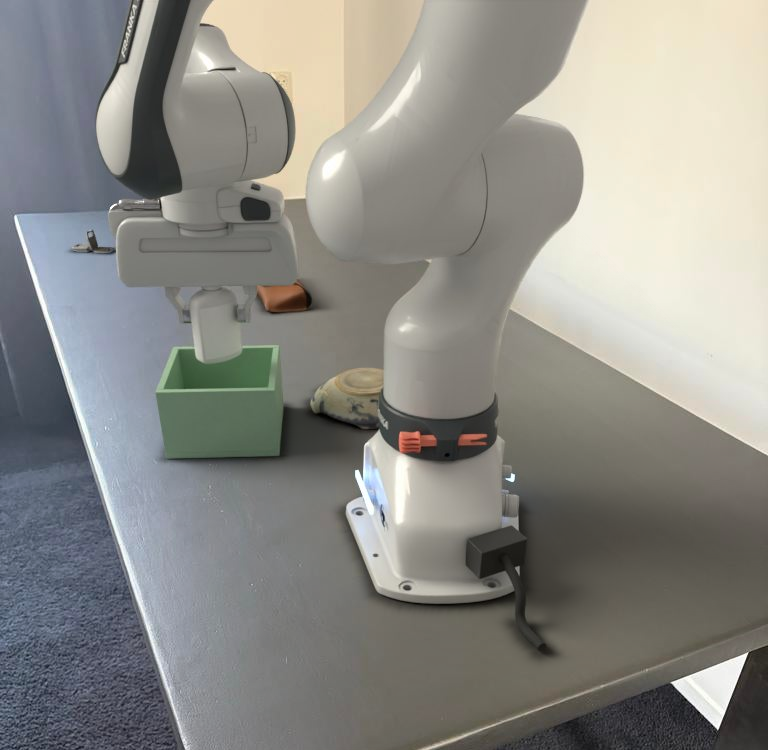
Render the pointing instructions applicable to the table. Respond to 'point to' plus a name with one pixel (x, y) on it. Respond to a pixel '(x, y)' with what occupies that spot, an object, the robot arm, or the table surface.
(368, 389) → the decorative bowl
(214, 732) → the table surface
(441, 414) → the robot arm
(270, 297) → the sunglasses case
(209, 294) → the eye dropper bottle
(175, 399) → the bin
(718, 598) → the table surface
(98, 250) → the strap clip
